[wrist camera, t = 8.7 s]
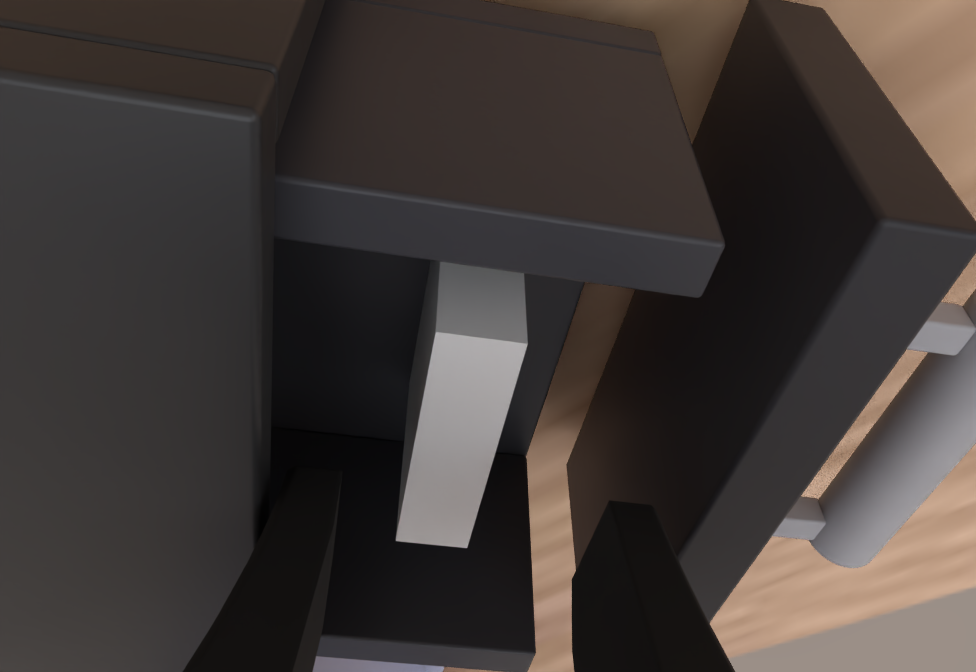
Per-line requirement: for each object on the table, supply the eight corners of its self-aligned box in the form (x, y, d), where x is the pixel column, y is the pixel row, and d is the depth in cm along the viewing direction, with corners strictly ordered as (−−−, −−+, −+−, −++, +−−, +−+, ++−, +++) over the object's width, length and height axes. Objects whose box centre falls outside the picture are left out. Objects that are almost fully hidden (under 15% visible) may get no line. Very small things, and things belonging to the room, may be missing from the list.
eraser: (520, 187, 14) (528, 346, 11) (471, 389, 17) (467, 549, 14) (444, 174, 14) (432, 332, 11) (409, 381, 17) (393, 542, 14)
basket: (1068, 52, 13) (1338, 291, 9) (774, 488, 21) (847, 727, 17) (-138, -178, 11) (-514, -1, 7) (23, 402, 19) (-110, 654, 15)
